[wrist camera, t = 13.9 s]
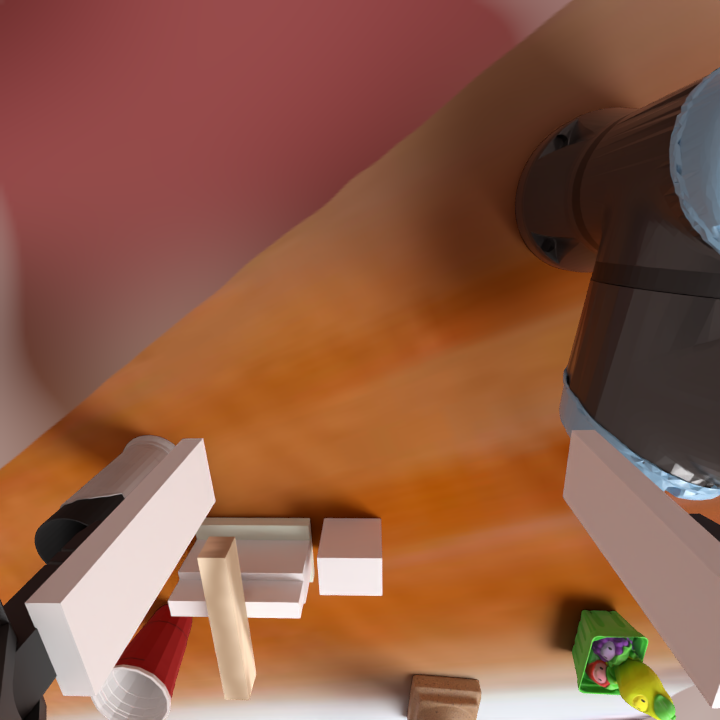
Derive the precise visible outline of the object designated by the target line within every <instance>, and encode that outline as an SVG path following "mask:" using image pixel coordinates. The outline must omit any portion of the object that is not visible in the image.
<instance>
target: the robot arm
mask: <svg viewBox="0 0 720 720" xmlns="http://www.w3.org/2000/svg"><path fill="white" fill-rule="evenodd" d="M515 212H516V220H517V224H518V228H519V231H520V234H521V236H522V238H523V240H524V242H525V243H526V245H527V246H528V248H529V249H530V250H531V251H532V252H533V253H534V254H535V255H536V256H537V257H538V258H539V259H540V260H542V261H543V262H545V263H547V264H549V265H551V266H553V267H556V268H559V269H563V270H569V271H575V272H593V273H592V277H591V280H590V284H589V287H588V291H587V295H586V299H585V303H584V307H583V310H582V314H581V318H580V322H579V325H578V329H577V333H576V336H575V340H574V344H573V348H572V351H571V355H570V359H569V362H568V365H567V367H566V368H565V370H564V373H563V383H564V387H563V392H562V397H561V402H560V408H559V412H560V419H561V422H562V423H563V425H564V427H565V429H566V432H567V433H568V435H569V436H570V438H571V441H570V448H569V456H568V463H567V471H566V478H565V486H564V493H563V498H564V499H565V501H566V502H567V504H568V505H569V507H570V508H571V509H572V511H573V512H574V514H575V515H576V516H577V518H578V519H579V521H580V522H581V524H582V525H583V526H584V528H585V529H586V531H587V532H588V533H589V535H590V536H591V538H592V539H593V541H594V542H595V543H596V545H597V546H598V548H599V549H600V551H601V552H602V553H603V555H604V556H605V558H606V559H607V560H608V562H609V563H610V565H611V566H612V568H613V569H614V570H615V572H616V573H617V575H618V576H619V577H620V579H621V580H622V582H623V583H624V585H625V586H626V587H627V589H628V590H629V592H630V593H631V594H632V596H633V597H634V599H635V600H636V602H637V603H638V604H639V606H640V607H641V609H642V610H643V612H644V613H645V614H646V616H647V617H648V619H649V620H650V621H651V623H652V624H653V626H654V627H655V629H656V630H657V631H658V633H659V634H660V636H661V637H662V638H663V640H664V641H665V643H666V644H667V646H668V647H669V648H670V650H671V651H672V653H673V654H674V655H675V657H676V658H677V660H678V661H679V663H680V664H681V665H682V667H683V668H684V670H685V671H686V673H687V674H688V675H689V677H690V678H691V680H692V681H693V682H694V684H695V685H696V687H697V688H698V690H699V691H700V692H701V694H702V695H703V697H704V698H705V699H706V701H707V702H708V704H709V705H710V706H711V708H720V525H719V524H717V523H715V522H714V521H712V520H710V519H708V518H706V517H705V516H703V515H701V514H688V513H687V512H686V511H685V510H683V509H682V508H681V507H680V506H679V505H678V504H677V503H676V502H675V501H673V500H672V499H671V498H670V497H669V496H668V495H667V494H666V493H665V492H663V491H665V490H666V491H668V492H669V493H671V494H672V495H674V496H675V497H677V498H683V499H689V500H706V499H713V498H715V497H717V496H719V495H720V67H719V68H718V69H716V70H715V71H713V72H712V73H711V74H710V75H708V76H706V77H704V78H702V79H700V80H698V81H695V82H693V83H691V84H689V85H687V86H685V87H683V88H681V89H679V90H677V91H675V92H673V93H671V94H669V95H667V96H665V97H663V98H661V99H659V100H657V101H655V102H653V103H651V104H649V105H646V106H644V107H642V108H640V109H634V108H622V107H613V108H604V109H600V110H595V111H592V112H589V113H586V114H584V115H581V116H579V117H577V118H575V119H573V120H572V121H570V122H568V123H566V124H565V125H563V126H561V127H560V128H558V129H557V130H555V131H554V132H553V133H552V134H550V135H549V136H548V137H547V138H546V139H545V140H544V141H543V142H542V143H541V144H540V145H539V146H538V147H537V149H536V150H535V151H534V153H533V154H532V156H531V157H530V159H529V160H528V162H527V164H526V166H525V168H524V170H523V172H522V175H521V177H520V180H519V184H518V188H517V193H516V202H515ZM214 503H215V497H214V492H213V487H212V481H211V476H210V471H209V466H208V461H207V456H206V451H205V446H204V441H203V438H198V439H182V440H181V441H180V442H179V443H178V444H177V445H176V446H175V447H174V448H173V449H172V451H171V452H170V453H169V454H168V455H167V456H166V457H165V458H164V459H163V460H162V461H161V462H160V463H159V464H158V465H157V466H156V467H155V468H154V469H153V470H152V471H151V472H150V473H149V474H148V475H147V476H146V478H145V479H144V480H143V481H142V482H141V483H140V484H139V485H138V486H137V487H136V488H135V489H134V490H133V491H132V492H131V493H130V494H129V495H128V496H127V497H126V498H125V499H124V500H123V501H122V502H121V503H120V505H119V506H118V507H117V508H116V509H115V510H114V511H113V512H112V513H111V514H110V515H109V516H108V517H107V518H106V519H105V520H97V521H95V522H94V523H92V524H91V525H89V526H88V527H86V528H85V529H83V530H82V531H80V532H78V533H77V534H76V535H75V536H74V537H73V538H72V539H71V540H70V541H69V542H68V543H67V544H66V545H65V546H64V547H63V548H62V550H61V552H58V553H57V554H56V555H55V556H54V557H53V558H52V559H51V560H50V561H49V563H48V565H45V566H44V567H43V568H42V569H40V570H39V571H38V572H37V573H36V574H35V575H34V576H33V577H32V578H31V579H30V580H29V581H28V582H27V583H26V584H25V585H24V586H23V587H22V588H21V589H20V590H19V591H18V592H17V593H16V594H15V595H14V596H13V597H12V598H11V599H10V600H9V601H8V602H7V603H6V604H5V605H4V606H3V605H2V602H1V600H0V720H46V708H47V706H46V703H45V700H44V697H43V694H44V693H45V691H46V690H47V689H48V687H49V686H50V685H51V683H52V682H53V680H54V679H55V678H56V679H57V682H58V684H59V686H60V689H61V691H62V693H63V696H96V695H97V694H98V692H99V690H100V689H101V687H102V686H103V684H104V682H105V681H106V679H107V677H108V676H109V674H110V673H111V671H112V669H113V668H114V666H115V664H116V663H117V661H118V660H119V658H120V656H121V655H122V653H123V651H124V650H125V648H126V646H127V645H128V643H129V642H130V640H131V638H132V637H133V635H134V633H135V632H136V630H137V629H138V627H139V625H140V624H141V622H142V620H143V619H144V617H145V615H146V614H147V612H148V611H149V609H150V607H151V606H152V604H153V602H154V601H155V599H156V598H157V596H158V594H159V593H160V591H161V589H162V588H163V586H164V584H165V583H166V581H167V580H168V578H169V576H170V575H171V573H172V571H173V570H174V568H175V567H176V565H177V563H178V562H179V560H180V558H181V557H182V555H183V553H184V552H185V550H186V549H187V547H188V545H189V544H190V542H191V540H192V539H193V537H194V536H195V534H196V532H197V531H198V529H199V527H200V526H201V524H202V523H203V521H204V519H205V518H206V516H207V514H208V513H209V511H210V509H211V508H212V506H213V505H214Z"/></svg>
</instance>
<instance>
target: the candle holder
mask: <svg viewBox="0 0 720 720" xmlns="http://www.w3.org/2000/svg"><path fill="white" fill-rule="evenodd" d="M480 700H481V689H480V685H479V681H478V680H475V679H467V678H454V677H442V676H429V675H414V676H413V679H412V684H411V691H410V698H409V705H408V712H407V720H476V718H477V713H478V708H479V704H480Z"/></svg>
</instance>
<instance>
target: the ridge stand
mask: <svg viewBox="0 0 720 720" xmlns="http://www.w3.org/2000/svg"><path fill="white" fill-rule="evenodd" d="M196 537H197V540H196V542H195V544H194V546H193V547H192V549H191V551H190V552H189V554H188V556H187V558H186V559H185V561H184V563H183V564H182V566H181V568H180V570H179V571H178V574H179V579H180V580H179V582H178V584H177V585H176V587H175V589H174V591H173V592H172V594H171V596H170V598H169V599H168V604H169V608H170V613H171V616H189V617H209V616H208V610H207V605H206V600H205V595H204V590H203V585H202V580H201V575H200V570H199V565H198V559H197V557H198V555H199V554H200V552H201V550H202V548H203V546H204V544H205V543H206V541H207V539H208V537H235V539H236V546H237V552H238V559H239V565H240V572H241V578H242V585H243V591H244V598H245V604H246V611H247V617H254V618H300V617H301V612H302V607H303V603H305V602H306V597H307V592H308V586H309V582H313V579H314V561H313V549H312V536H311V523H310V518H205V519H204V521H203V523H202V524H201V526H200V527H199V529H198V531H197V532H196Z"/></svg>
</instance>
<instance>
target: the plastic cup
mask: <svg viewBox="0 0 720 720" xmlns="http://www.w3.org/2000/svg"><path fill="white" fill-rule="evenodd" d="M191 626H192V617H189V616H171V613H170V608H169V604H166V605H163V606H162V607H160V608H159V609H158V610H157V611H156V612H155V613H154V615H153V616H152V617H151V619H150V620H149V621H148V622H147V624H146V625H145V626H143V628H142V629H141V630H140V631H139V633H138V634H137V635H136V636H135V637H134V639H133V640H132V641H131V642H130V644H129V645H128V646H127V647H126V648H125V650H124V651H123V653H122V655H121V656H120V658H119V660H118V661H117V663H116V664H115V666H114V668H113V669H112V671H111V673H110V674H109V676H108V677H107V679H106V681H105V682H104V684H103V686H102V687H101V689H100V690H99V692H98V694H97V695H96V696H91V699H92V701H93V703H94V705H95V706H96V708H97V710H98V711H99V712H100V713H101V714H102V715H103V716H104V717H106V718H107V719H108V720H165V719H166V718H167V716H168V715H169V713H170V709H171V698H172V695H173V690H174V687H175V681H176V678H177V675H178V672H179V668H180V665H181V662H182V658H183V655H184V652H185V648H186V645H187V640H188V636H189V633H190V630H191Z"/></svg>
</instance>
